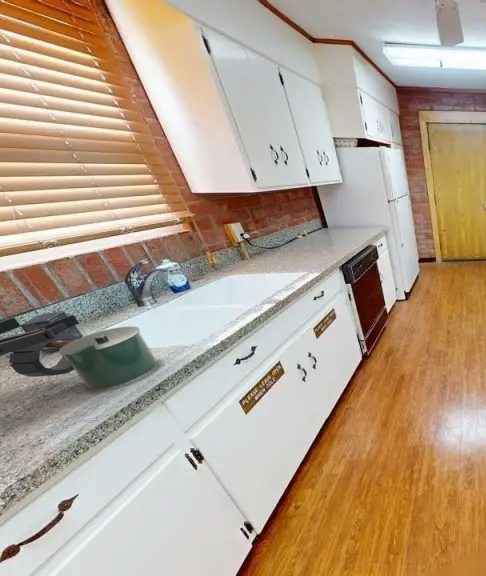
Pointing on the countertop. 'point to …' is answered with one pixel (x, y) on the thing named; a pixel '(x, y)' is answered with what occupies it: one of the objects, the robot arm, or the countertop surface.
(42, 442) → the countertop surface
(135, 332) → the saucepan
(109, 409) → the countertop surface
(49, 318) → the box
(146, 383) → the countertop surface
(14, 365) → the tire
